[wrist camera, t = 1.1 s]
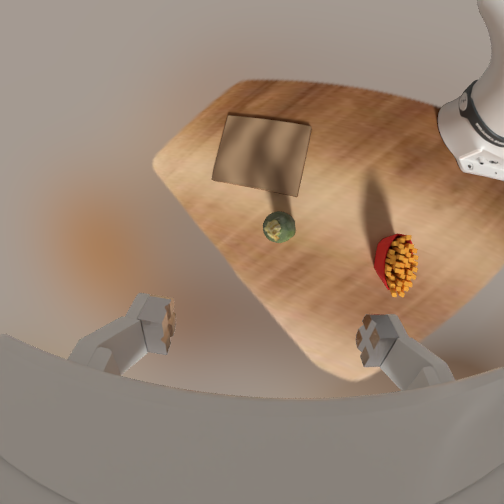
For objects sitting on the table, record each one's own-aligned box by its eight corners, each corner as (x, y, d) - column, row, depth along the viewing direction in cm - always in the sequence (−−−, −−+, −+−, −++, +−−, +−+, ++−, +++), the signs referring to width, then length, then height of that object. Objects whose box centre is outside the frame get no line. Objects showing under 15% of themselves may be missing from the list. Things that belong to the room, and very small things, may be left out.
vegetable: (277, 218, 51) (248, 210, 32) (299, 214, 50) (285, 203, 31) (280, 241, 51) (254, 247, 32) (303, 238, 50) (291, 242, 31)
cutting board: (311, 129, 48) (311, 126, 47) (297, 197, 50) (296, 196, 48) (230, 118, 52) (228, 115, 51) (214, 180, 54) (211, 179, 52)
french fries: (378, 232, 46) (396, 232, 34) (399, 236, 45) (423, 237, 33) (370, 281, 47) (385, 296, 35) (391, 284, 46) (411, 300, 34)
